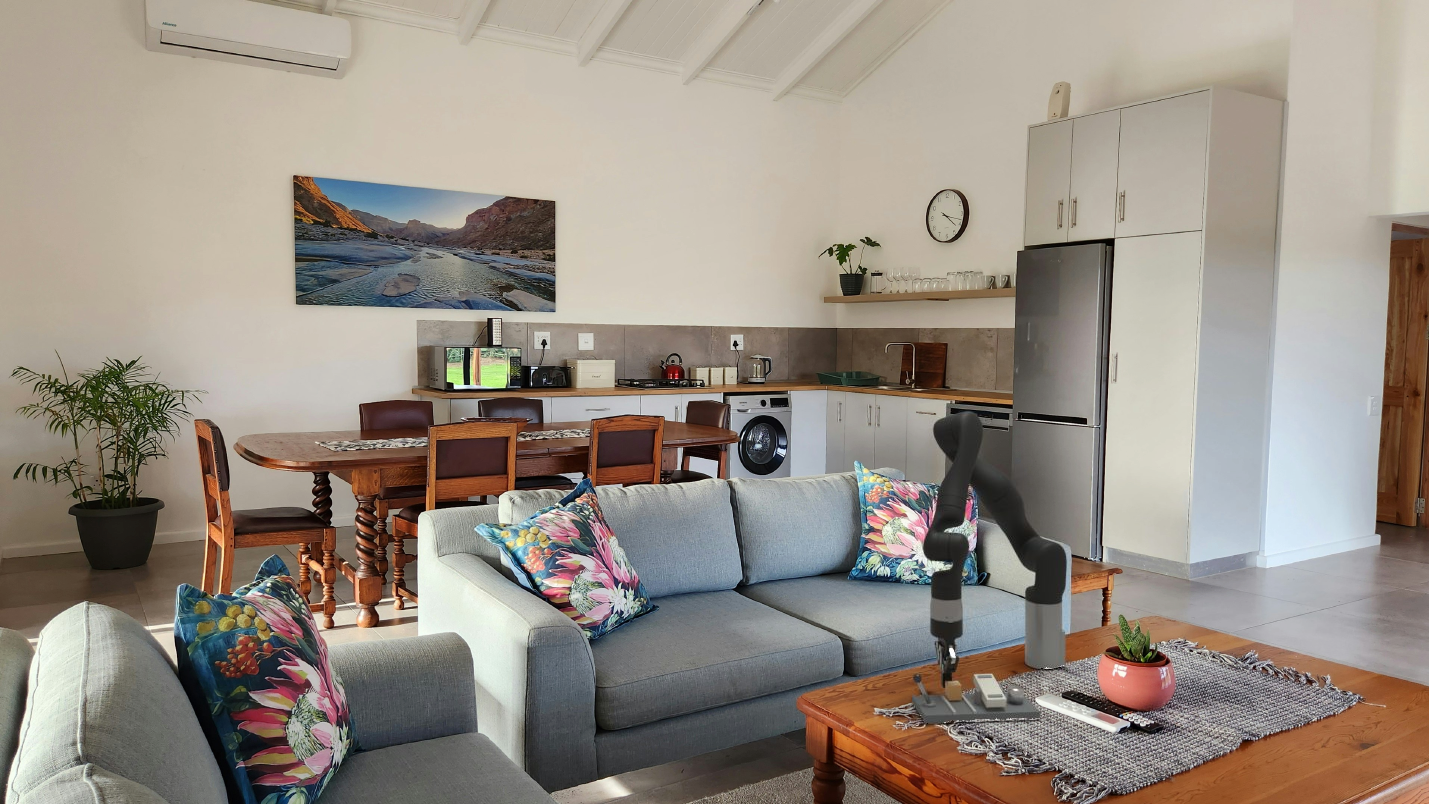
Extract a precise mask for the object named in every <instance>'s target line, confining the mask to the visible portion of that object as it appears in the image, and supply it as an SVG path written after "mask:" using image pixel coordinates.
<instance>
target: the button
mask: <svg viewBox="0 0 1429 804" xmlns="http://www.w3.org/2000/svg"><path fill="white" fill-rule="evenodd" d="M1006 693H1007V701H1008V702H1010V703H1013V704H1021V703H1023V695H1024V687H1022V686H1020V685H1014V684H1012V685H1008V686H1006Z"/></svg>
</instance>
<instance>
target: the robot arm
mask: <svg viewBox="0 0 1429 804" xmlns="http://www.w3.org/2000/svg"><path fill="white" fill-rule="evenodd" d="M932 433H933V437H934V439H935V442H936V444H937V445H938V447H939V449H940V450H941V451H942V453H943V454H944V455H945V456H946V457H947V458H948V460H949V461H950V462H952V464H951V467H950V468H949V470H948V471H947V472H946V474H945V476H944V478H943V480H942V481H941V483H940V485H939V487H938V492H937V494H936V495H937V496H936V502H935V511H934V516H933V518H932V521H931V524H930V526H929V528H928V530H927V532H926V534H925V537H924V539H923V542H922V551H923V552H922V553H923V555H924V557H925V558H926V559H927V560H929V561H932V562H940V563H941V562H942V563H952V566H951V568H948V569H944V570H937V571H934V572H932V575H931V577H930V605H929V613H930V615H929V619H930V622H929V623H930V625H929V628H930V629H929V630H930V631H929V632H930V635H931V636H933V637H934V638H937V641H936V640H935V641H934V649H935V654H936V659H937V665H938V666H939V669H940V676H941V677H940V679H941V680H940V681H941V682H940V684H941V686H942V688H944V689H945V681H953V674H954V673H956V671H957V667H958V665H959V662H960V656H959V655H957V651H958V646H957V644H956V639H960V638H961V637H962V636H963V634H964V633H963V632H964V629H963V628H964V624H963V622H964V617H963V616H964V615H963V614H964V612H963V611H964V609H963V599H962V597H963V596H962V593H963V592H962V590H963V589H962V581H963V573H964V568H965V564H966V562H967V559H968V555H969V552H970V542H969V539H968V537H967V536H966V535H965V534H964V533H961V532H949V531H948V532H947V531H946V530H949V529H953V528H954V529H955V528H958V527H959V528H960V527H961V526H962V525H963V524H964V523H965V518H966V509H967V502H968V501H967V500H968V494H969V487H971V488H972V490H973V491H974V492H975V494H976V495H977V497H978V499H979V500H980V502H981V503H982V505H983V506H984V507H985V509H986V510H987V511H988V513H989V514H990V516H991V517H992V518H993V520H994V522H996V524H997V525H998V527H999V528H1000V529H1001V532H1003V534H1004V535H1005V536H1006V538H1007V540H1008V542H1009V543H1010V545H1011V547H1012V549H1013V551H1014V552H1015V554H1016V556H1017V559H1018V560H1019V562H1020V564H1021V565H1022V566H1023V567H1024V568H1026V569H1027V570H1028V571H1030V572H1033V573H1035V575H1034V576H1035V577H1034V584H1033V585H1030V586H1028V587H1026V588H1025V592H1024V598H1025V599H1024V610H1025V611H1024V637H1025V638H1024V661H1025V662H1024V663H1025V665H1027V666H1028V667H1030V668H1034V669H1037V670H1042V669H1041V668H1046V667H1047V668H1048V667H1050V668H1054V667H1058V666H1061V665H1065V666H1066V632H1065V630H1064V629H1063V596H1064V593H1065V591H1066V586H1067V585H1066V584H1067V572H1068V571H1067V567H1068V559H1067V553H1066V550H1065V548H1064V547H1063V545H1061V544H1059V543H1058V542H1056V541H1052V540H1050V539H1049V540H1048V539H1045V538H1044V537H1042V536H1040V535H1039V534H1038V533H1037V532H1036V530H1034V529H1035V528H1033V527H1032V525H1031V524H1030V522H1029V520H1028V519H1027V516H1026V512H1025V504H1024V501H1023V497H1022V495H1021V493H1020V492H1019V490H1018V489H1017V487H1016V486H1015V485H1014V483H1013V482H1012V480H1011V479H1010V477H1009V476H1008V475H1007V474H1006V473H1004V472H1003V471H1001V470H1000V469H998V468H997V467H995V466H993V465H991V464H990V463H988V462H986V461H984V460H982V459H981V458H980V457H978V455H979V452H980V449H981V446H982V442H983V439H984V438H983V436H984V427H983V423H982V421H981V419H980V417H979V416H978V414H976V413H975V412H973V411H971V410H969V411H968V410H967V411H962V412H961V411H960V412H958V413H954V414H952V415H951V414H950V415H947V416H945V417H944V416H943V417H941V418H939V419H937V420H936V421H935V422H934V424H933V428H932Z"/></svg>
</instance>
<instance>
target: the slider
mask: <svg viewBox="0 0 1429 804" xmlns="http://www.w3.org/2000/svg"><path fill="white" fill-rule="evenodd" d="M962 687H963V685H962V683H961V682H959V681H958V680H952V681H945V688H944V690H945V691H944V692H945V694H944V695H945V696H946V697H947V699H948V700H949V701H952V700H962V694H963V692H962V691H963V690H962V689H963V688H962Z"/></svg>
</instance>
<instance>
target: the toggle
mask: <svg viewBox="0 0 1429 804" xmlns="http://www.w3.org/2000/svg"><path fill="white" fill-rule="evenodd" d="M922 680H923V679H922V674H920V673H915V674H914V675H913V676H912V681H913V682H914V683H916V684H917V686H918V688H919V690H920V692H921V694H922V695H923V696H924V698H925V700H926V702H927V703H928V704H930V703H931V701H930V698H929V696H928V695H929V694H928V692H927V690H926V688H925V686H924V685H923V682H922Z"/></svg>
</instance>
